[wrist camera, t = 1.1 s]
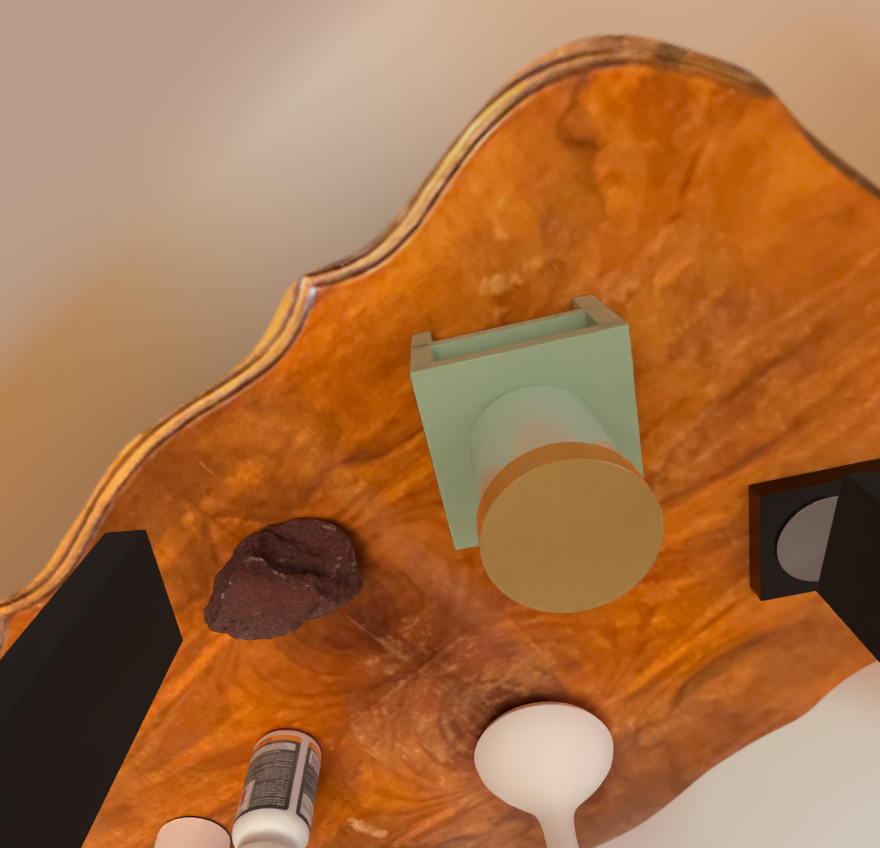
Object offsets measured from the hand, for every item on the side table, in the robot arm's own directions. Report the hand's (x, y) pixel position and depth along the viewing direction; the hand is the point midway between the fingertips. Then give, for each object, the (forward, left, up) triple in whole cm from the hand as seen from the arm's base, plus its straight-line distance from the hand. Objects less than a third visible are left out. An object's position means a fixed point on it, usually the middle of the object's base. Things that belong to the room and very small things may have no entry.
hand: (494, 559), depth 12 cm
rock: (+15, +17, -26) cm, 34 cm away
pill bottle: (+21, +35, -26) cm, 48 cm away
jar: (-3, +8, -19) cm, 21 cm away
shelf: (-3, +8, -26) cm, 27 cm away
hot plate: (-22, +22, -26) cm, 41 cm away
